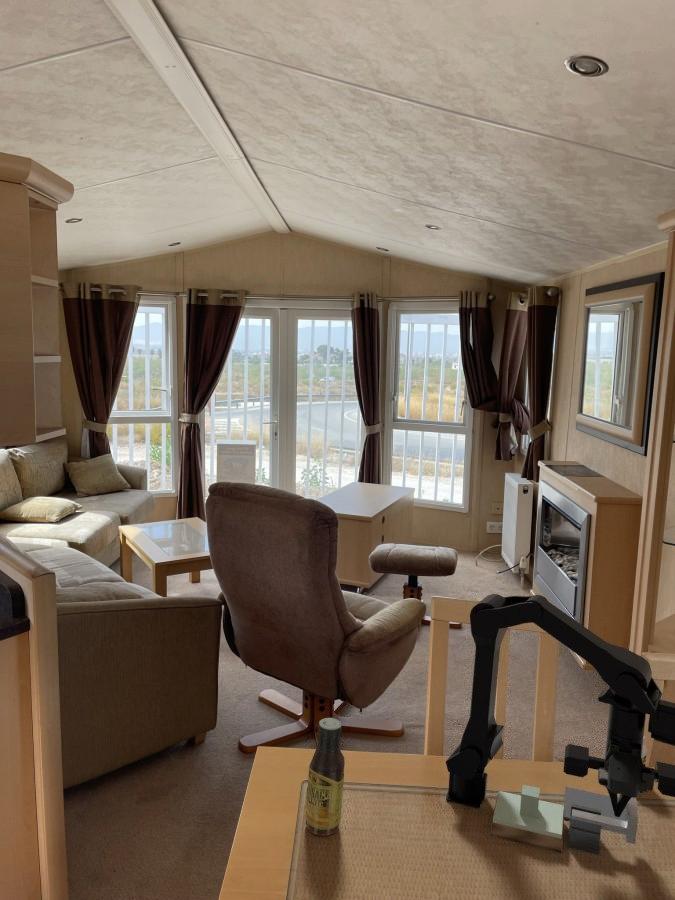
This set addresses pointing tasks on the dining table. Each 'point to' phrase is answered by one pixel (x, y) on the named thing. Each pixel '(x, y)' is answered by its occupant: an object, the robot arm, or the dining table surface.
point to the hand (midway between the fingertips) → (617, 815)
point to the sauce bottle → (325, 781)
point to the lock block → (584, 831)
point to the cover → (529, 812)
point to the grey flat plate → (589, 802)
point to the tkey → (616, 821)
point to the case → (527, 836)
